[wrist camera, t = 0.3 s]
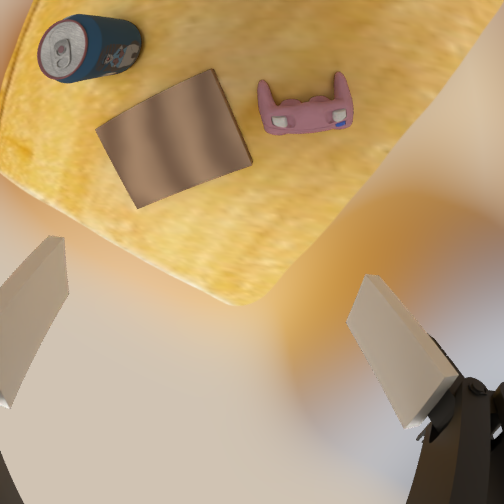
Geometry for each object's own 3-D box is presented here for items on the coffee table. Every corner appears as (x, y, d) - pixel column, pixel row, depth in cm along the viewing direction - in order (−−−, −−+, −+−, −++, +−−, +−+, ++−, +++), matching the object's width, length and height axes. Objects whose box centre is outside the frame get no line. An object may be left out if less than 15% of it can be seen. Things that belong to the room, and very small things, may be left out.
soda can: (93, 28, 27) (30, 28, 17) (144, 14, 27) (90, 2, 17) (97, 78, 31) (36, 94, 21) (147, 68, 31) (94, 76, 21)
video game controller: (261, 109, 34) (264, 148, 31) (254, 77, 31) (255, 113, 27) (345, 100, 33) (360, 137, 29) (344, 67, 29) (362, 101, 25)
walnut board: (213, 68, 30) (210, 69, 29) (252, 161, 36) (251, 165, 35) (100, 126, 35) (95, 129, 33) (141, 204, 41) (137, 209, 39)
